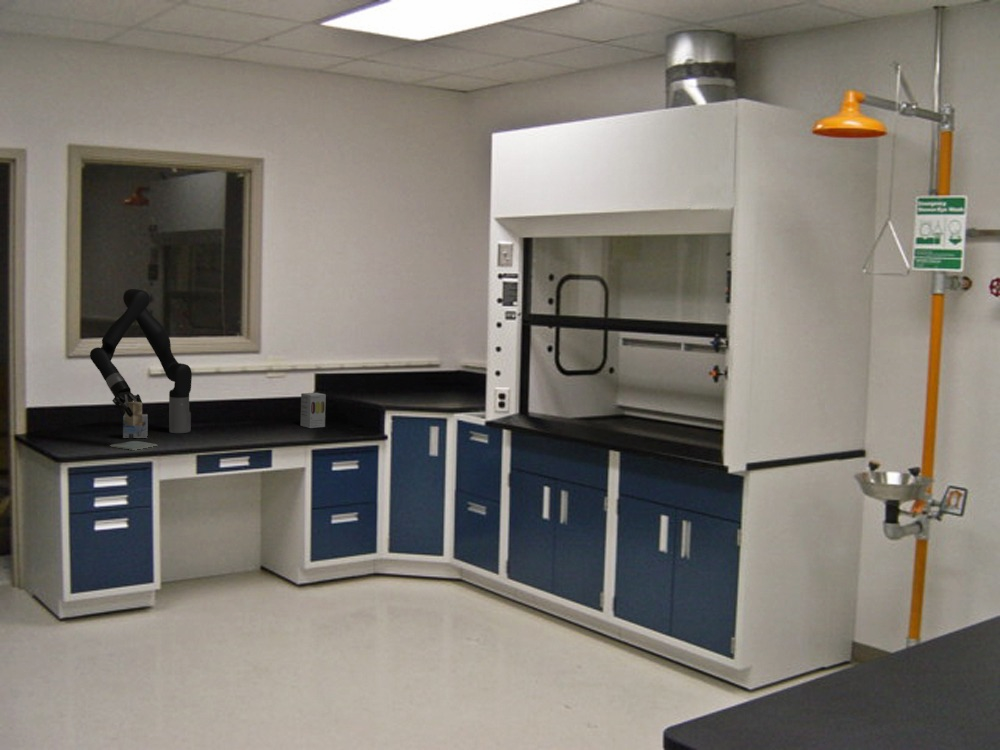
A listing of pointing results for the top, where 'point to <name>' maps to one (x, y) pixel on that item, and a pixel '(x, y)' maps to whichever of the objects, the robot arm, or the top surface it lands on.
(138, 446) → the sage tile
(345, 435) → the top surface
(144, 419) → the light bulb box
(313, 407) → the supplement box
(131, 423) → the beech block
